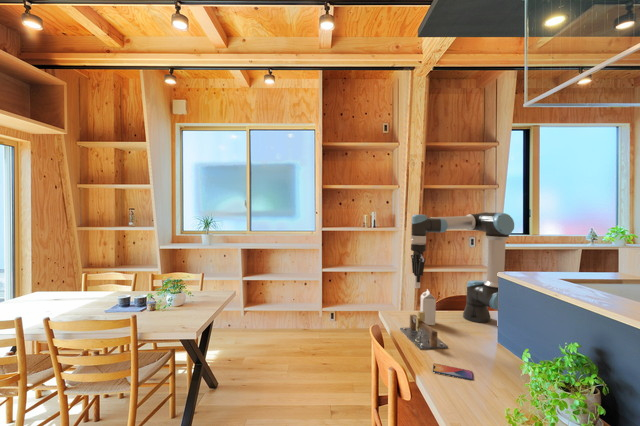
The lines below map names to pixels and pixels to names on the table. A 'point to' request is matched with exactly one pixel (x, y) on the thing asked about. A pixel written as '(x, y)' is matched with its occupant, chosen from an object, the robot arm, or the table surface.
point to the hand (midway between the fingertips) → (417, 287)
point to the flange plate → (422, 339)
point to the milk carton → (428, 307)
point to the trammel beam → (431, 332)
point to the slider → (420, 318)
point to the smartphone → (453, 371)
